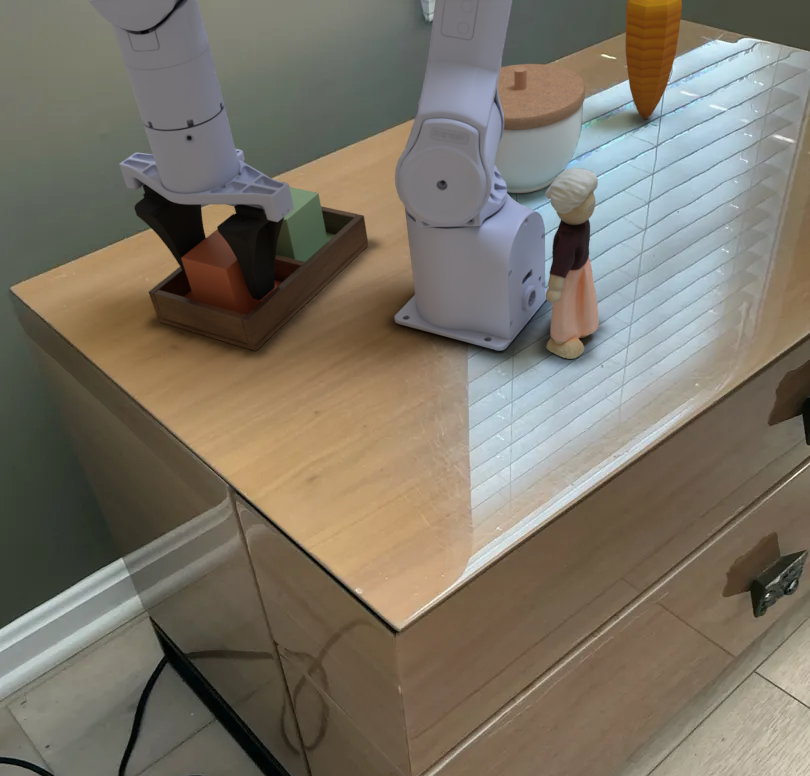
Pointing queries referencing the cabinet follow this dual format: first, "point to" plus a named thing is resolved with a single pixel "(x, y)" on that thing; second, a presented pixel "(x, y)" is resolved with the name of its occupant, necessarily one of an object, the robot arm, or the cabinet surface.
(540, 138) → the trinket box
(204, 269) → the terracotta block
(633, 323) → the cabinet surface
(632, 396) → the cabinet surface
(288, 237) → the sage block
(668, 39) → the carrot
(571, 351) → the grandmother figurine
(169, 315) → the sorting tray
